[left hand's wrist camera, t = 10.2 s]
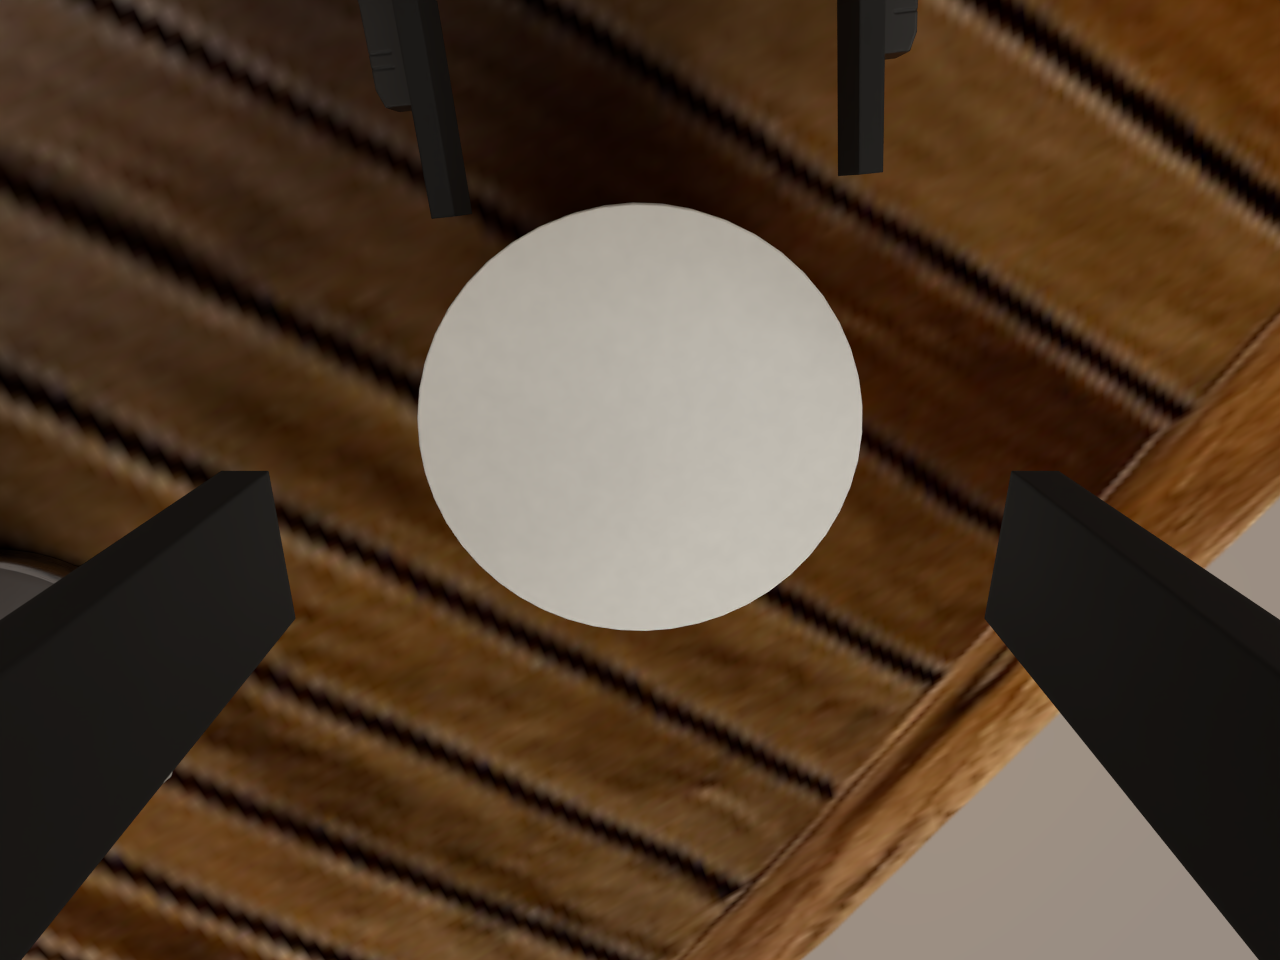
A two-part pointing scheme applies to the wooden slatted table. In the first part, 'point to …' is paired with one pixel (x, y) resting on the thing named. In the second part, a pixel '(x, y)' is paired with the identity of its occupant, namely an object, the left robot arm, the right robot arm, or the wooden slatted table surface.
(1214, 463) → the wooden slatted table surface
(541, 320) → the lid
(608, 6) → the wooden slatted table surface
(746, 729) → the wooden slatted table surface
